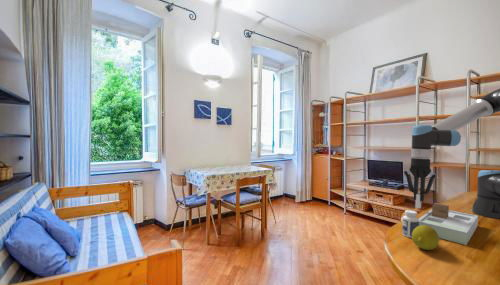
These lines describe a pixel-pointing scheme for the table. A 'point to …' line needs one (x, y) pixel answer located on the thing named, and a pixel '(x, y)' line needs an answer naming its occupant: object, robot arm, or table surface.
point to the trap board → (452, 225)
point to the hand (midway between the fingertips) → (418, 207)
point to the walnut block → (440, 210)
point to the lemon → (425, 237)
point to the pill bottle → (409, 223)
